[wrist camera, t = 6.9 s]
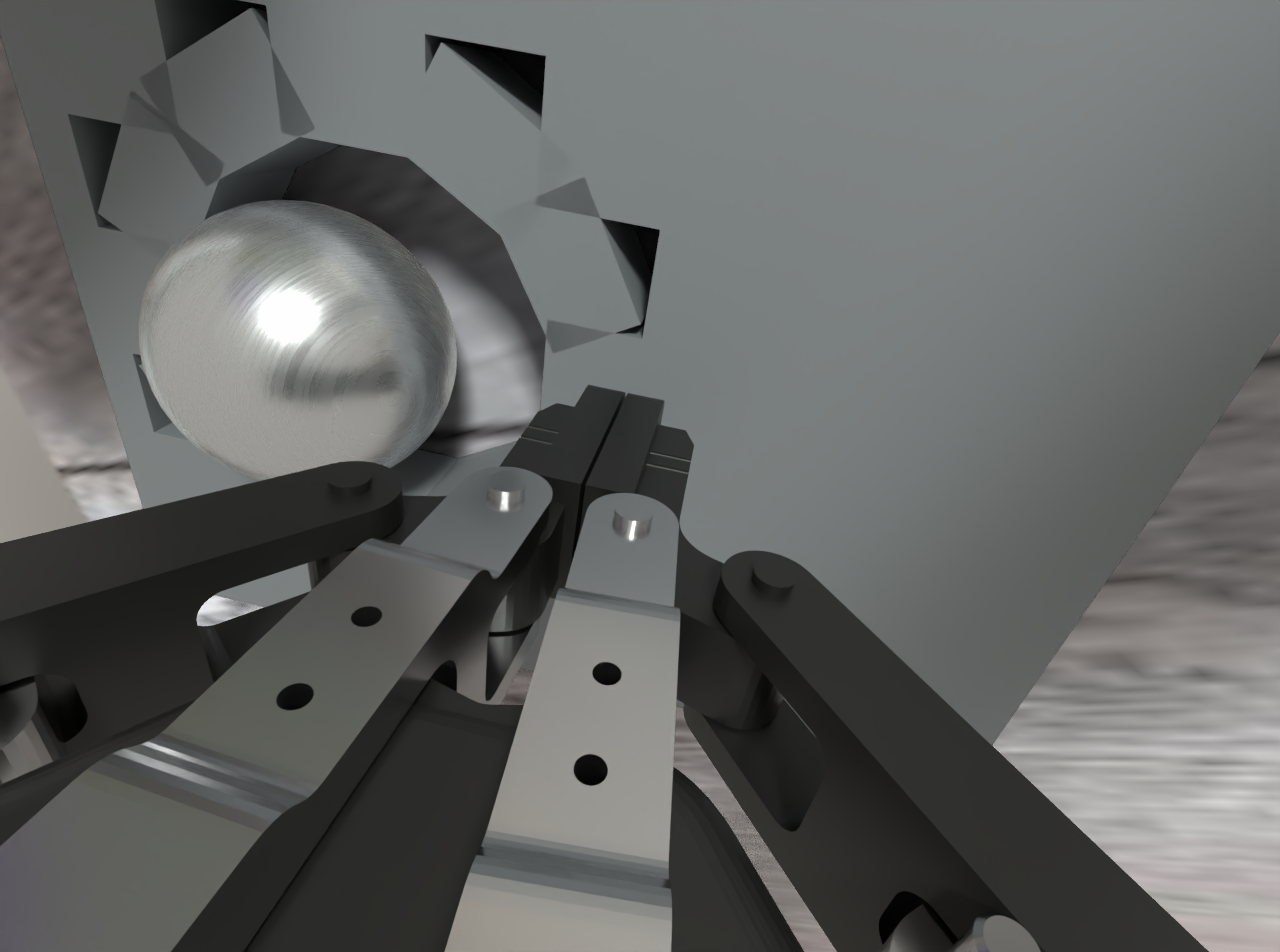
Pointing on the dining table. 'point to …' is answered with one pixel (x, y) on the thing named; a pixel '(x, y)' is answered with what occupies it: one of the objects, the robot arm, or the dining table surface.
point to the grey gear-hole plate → (757, 254)
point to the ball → (296, 340)
